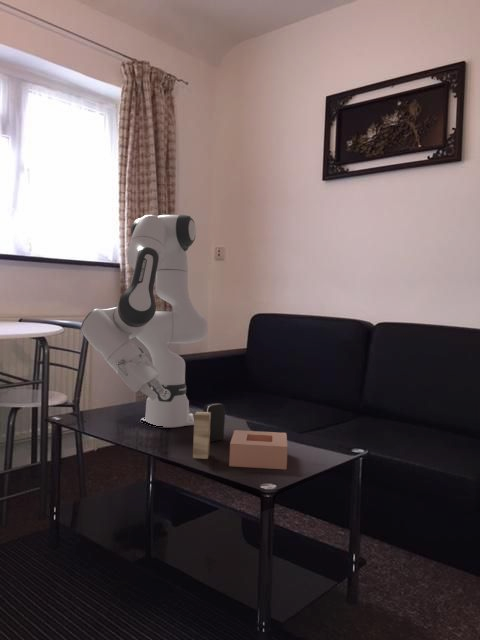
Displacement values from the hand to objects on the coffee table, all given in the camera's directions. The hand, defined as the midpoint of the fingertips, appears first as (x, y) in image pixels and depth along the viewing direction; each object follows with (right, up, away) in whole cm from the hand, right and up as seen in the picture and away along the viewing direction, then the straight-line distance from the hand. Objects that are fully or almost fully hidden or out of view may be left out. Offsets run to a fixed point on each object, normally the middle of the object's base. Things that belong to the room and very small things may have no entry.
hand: (159, 395), depth 149 cm
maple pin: (+12, -17, 0) cm, 21 cm away
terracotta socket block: (+28, -18, -1) cm, 33 cm away
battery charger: (+14, -17, +18) cm, 28 cm away
